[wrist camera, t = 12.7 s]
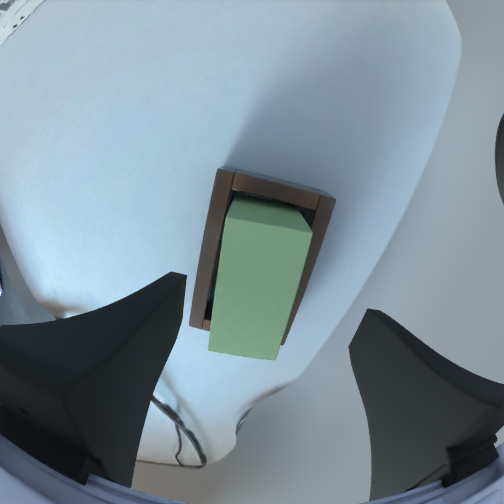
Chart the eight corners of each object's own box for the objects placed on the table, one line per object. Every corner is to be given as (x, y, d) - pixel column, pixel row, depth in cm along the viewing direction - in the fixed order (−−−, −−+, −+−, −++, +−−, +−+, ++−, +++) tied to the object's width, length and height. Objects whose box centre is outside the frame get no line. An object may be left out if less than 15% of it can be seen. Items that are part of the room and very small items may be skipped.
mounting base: (326, 191, 17) (336, 199, 15) (280, 325, 21) (283, 345, 19) (222, 165, 17) (217, 168, 15) (195, 307, 21) (188, 326, 19)
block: (295, 204, 18) (313, 232, 12) (271, 306, 21) (275, 361, 15) (235, 193, 18) (225, 216, 12) (219, 298, 20) (207, 351, 15)
